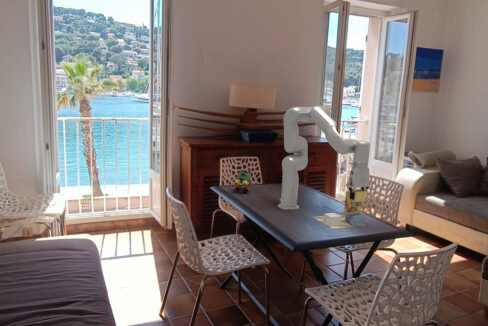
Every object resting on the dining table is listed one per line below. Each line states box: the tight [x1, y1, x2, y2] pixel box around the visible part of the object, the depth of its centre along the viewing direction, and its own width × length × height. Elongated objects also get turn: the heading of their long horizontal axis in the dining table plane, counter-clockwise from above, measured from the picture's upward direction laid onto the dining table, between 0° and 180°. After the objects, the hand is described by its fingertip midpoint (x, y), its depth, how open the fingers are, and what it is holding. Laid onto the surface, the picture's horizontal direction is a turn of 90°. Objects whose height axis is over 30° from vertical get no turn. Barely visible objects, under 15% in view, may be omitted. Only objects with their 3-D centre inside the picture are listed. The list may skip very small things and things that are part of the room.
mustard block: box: [349, 188, 367, 202], centre depth 201 cm, size 6×6×5 cm
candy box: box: [343, 189, 362, 216], centre depth 217 cm, size 9×4×15 cm, turn 75°
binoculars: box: [233, 169, 255, 194], centre depth 263 cm, size 14×14×15 cm
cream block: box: [322, 212, 341, 227], centre depth 200 cm, size 6×6×5 cm
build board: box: [312, 212, 366, 229], centre depth 206 cm, size 19×20×6 cm
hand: (357, 198), depth 201 cm, fingers closed on mustard block, 6 cm apart
